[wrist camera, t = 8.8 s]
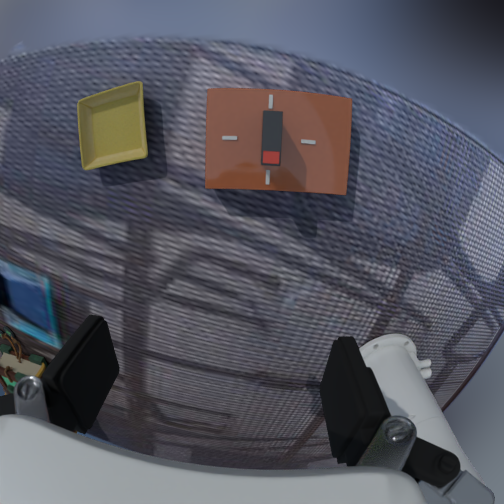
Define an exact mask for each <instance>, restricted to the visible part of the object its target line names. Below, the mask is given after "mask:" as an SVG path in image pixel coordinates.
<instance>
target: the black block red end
mask: <svg viewBox="0 0 504 504" xmlns="http://www.w3.org/2000/svg"><path fill="white" fill-rule="evenodd" d="M282 125H283V111H269V110H263V113H262V122H261V146H260V164H261V165H265V166H281V147H282Z"/></svg>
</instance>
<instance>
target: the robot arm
mask: <svg viewBox="0 0 504 504" xmlns="http://www.w3.org/2000/svg"><path fill="white" fill-rule="evenodd" d="M416 353H417V351H416V346H415V344H414V343H413V341H412V340H411V339H410V338H409V337H408V336H406V335H403V334H387V335H383V336H380V337H378V338H375V339H373V340H371V341H369V342H368V343H366V344H365V345H363V346H362V347H361V348H358V346H357V343H356V341H355V339H354V337H352V336H350V337H339V338H338V340H334V342H333V345H332V348H331V352H330V355H329V359H328V362H327V365H326V369H325V372H324V375H323V378H322V381H321V384H320V396H321V400H322V405H323V410H324V415H325V420H326V425H327V430H328V436H329V441H330V446H331V452H332V456H333V457H337V462H338V464H340V463H347V467H334V468H319V469H299V470H254V469H236V468H224V467H214V466H205V465H198V464H191V463H184V462H179V461H173V460H168V459H163V458H158V457H153V456H149V455H145V454H141V453H137V452H133V451H129V450H125V449H122V448H118V447H115V446H111V445H108V444H105V443H102V442H99V441H96V440H93V439H91V438H88V437H85V436H82V435H79V434H77V433H74V432H73V431H74V430H75V431H78V432H80V433H83V434H85V433H86V431H87V429H90V428H91V427H92V425H93V423H94V421H95V419H96V417H97V415H98V413H99V411H100V409H101V407H102V405H103V403H104V401H105V399H106V397H107V395H108V393H109V391H110V389H111V387H112V385H113V383H114V381H115V379H116V378H117V376H118V374H119V364H118V361H117V357H116V354H115V351H114V347H113V343H112V340H111V336H110V332H109V328H108V324H107V322H106V321H105V320H104V318H103V317H101V316H96V315H89V316H88V317H87V318H86V319H85V321H84V322H83V323H82V324H81V325H80V327H79V328H78V329H77V330H76V331H75V333H74V334H73V335H72V336H71V337H70V339H69V340H68V341H67V342H66V344H65V345H64V346H63V347H62V349H61V350H60V351H59V352H58V354H57V355H56V356H55V358H54V359H53V360H52V361H51V363H50V364H49V365H48V367H47V368H46V369H45V371H44V372H43V373H42V376H43V377H42V379H41V380H40V379H39V378H38V377H36V376H32V375H30V376H25V377H22V378H21V379H19V380H18V382H17V383H16V384H15V386H14V393H11V394H7V395H4V396H0V504H494V501H495V497H494V493H493V492H492V491H491V490H490V489H489V488H488V487H486V486H485V483H484V482H483V480H482V478H481V476H480V475H479V473H478V472H477V471H476V469H475V468H474V466H473V465H472V464H471V462H470V461H469V459H468V458H467V456H466V455H465V453H464V451H463V450H462V449H461V447H460V445H459V443H458V441H457V439H456V437H455V436H454V434H453V432H452V430H451V428H450V426H449V425H448V422H447V421H446V419H445V417H444V415H443V413H442V411H441V409H440V407H439V405H438V403H437V402H436V400H435V398H434V396H433V394H432V393H431V391H430V389H429V387H428V385H427V384H426V382H425V380H424V379H426V378H430V376H431V369H430V368H426V367H430V365H431V361H430V359H426V360H422V361H420V360H418V359H417V357H416ZM421 368H423V369H421Z"/></svg>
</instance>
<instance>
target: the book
mask: <svg viewBox="0 0 504 504" xmlns="http://www.w3.org/2000/svg"><path fill="white" fill-rule="evenodd" d="M3 330H4V332H5V335H4V333H3V332H2V331H1V330H0V338H3V339H5V338H6V339H8V340H9V342H10V343H11V344H12V346H13V349H14V351H15V352H14V351H13V349H12V347H10V346H7V345H5V344H1V346H0V350H1V352H2V354H3V356H2V357H1V359H0V383H1V384H2V386H3V387H4V388H3V390H4V392H5V395H7V394H11V393H14V386H15V384H16V383H17V382H18V380H19V379H21V378H22V377H25V376H30V375H32V376H36V377H38V378H39V379H40V380H41V379H42V377H43V376H42V373H43V372H44V371H45V369H46V368H47V367H48V365H47V363H46V361H45V359H44V357H41V356H38V355H34V354H31V355H30V356H26V355H23V354H22V348H21V345H20V343H19V342H18V341H16V339H14V338H15V336H14V334H13V332H12V331H11V330H10V329H9V328H8V327H6V326H4V327H3ZM6 334H7V335H8V336H9V337H11V339H12V340H13V342H12V341H11V340H10V338H8V337H7V336H6ZM13 343H17V344H18V346H19V349H20V351H19V353H17V350H16V348H15V346H14V344H13ZM73 432H74V433H77V431H75V430H74V431H73Z"/></svg>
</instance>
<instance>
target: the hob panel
mask: <svg viewBox="0 0 504 504" xmlns="http://www.w3.org/2000/svg"><path fill="white" fill-rule="evenodd" d="M263 110H269V111H283V125H282V147H281V166H265V165H261V164H260V146H261V122H262V113H263ZM351 121H352V99H351V98H345V97H339V96H332V95H325V94H317V93H309V92H299V91H288V90H274V89H251V88H213V89H208V90H207V115H206V159H205V188H206V189H248V190H273V191H292V192H309V193H323V194H335V195H346V191H347V181H348V169H349V157H350V141H351Z"/></svg>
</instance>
